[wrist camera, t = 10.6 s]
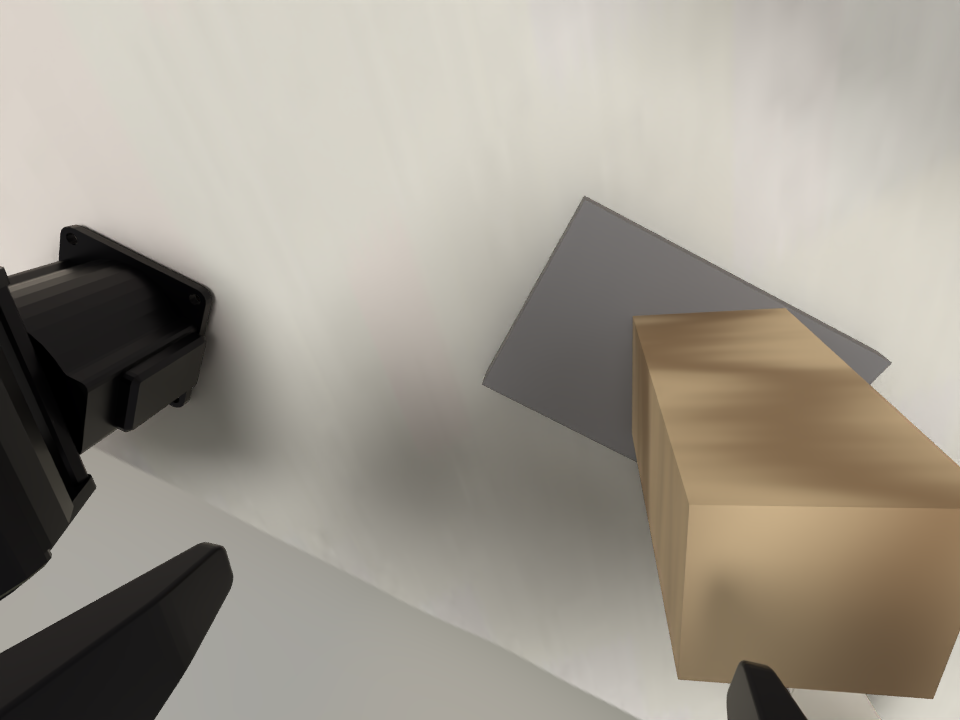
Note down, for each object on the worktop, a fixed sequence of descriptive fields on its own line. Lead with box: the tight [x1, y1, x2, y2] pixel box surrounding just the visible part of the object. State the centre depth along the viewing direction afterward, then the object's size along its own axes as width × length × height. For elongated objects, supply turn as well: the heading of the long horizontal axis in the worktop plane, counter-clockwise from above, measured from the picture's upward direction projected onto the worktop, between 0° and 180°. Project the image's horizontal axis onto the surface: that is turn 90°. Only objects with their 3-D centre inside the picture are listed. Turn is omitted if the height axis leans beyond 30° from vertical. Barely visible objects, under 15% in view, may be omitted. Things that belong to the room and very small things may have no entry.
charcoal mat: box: [482, 196, 892, 462], centre depth 20 cm, size 12×8×1 cm, turn 64°
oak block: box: [632, 308, 960, 699], centre depth 15 cm, size 5×5×10 cm
